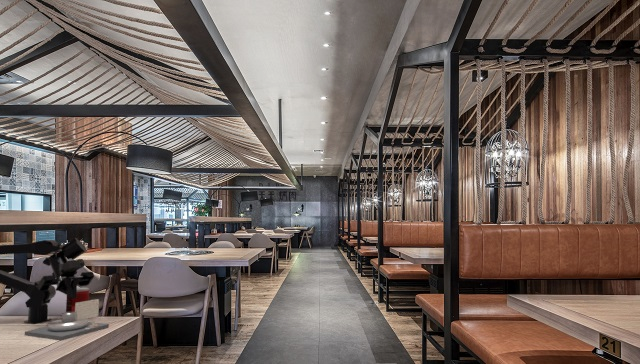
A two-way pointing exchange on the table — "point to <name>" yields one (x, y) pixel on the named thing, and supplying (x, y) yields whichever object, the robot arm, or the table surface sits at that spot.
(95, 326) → the panel
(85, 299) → the canned food
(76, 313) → the dial
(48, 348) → the table surface
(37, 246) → the robot arm
